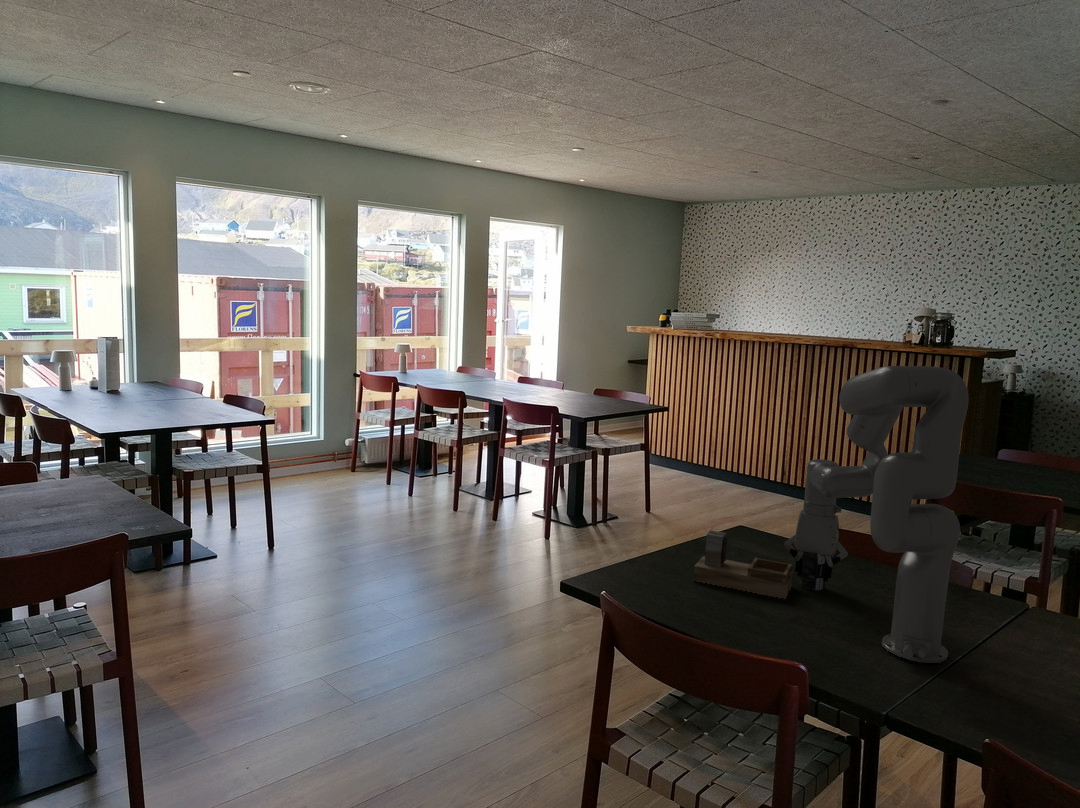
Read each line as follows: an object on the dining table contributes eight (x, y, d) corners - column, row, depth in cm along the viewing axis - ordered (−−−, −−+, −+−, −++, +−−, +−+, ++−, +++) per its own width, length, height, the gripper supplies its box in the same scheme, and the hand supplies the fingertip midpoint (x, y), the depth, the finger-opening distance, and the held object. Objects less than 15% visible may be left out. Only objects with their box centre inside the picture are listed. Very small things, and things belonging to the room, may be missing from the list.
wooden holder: (785, 599, 190) (789, 552, 189) (692, 581, 200) (696, 535, 199) (791, 587, 199) (795, 541, 197) (702, 569, 209) (705, 526, 207)
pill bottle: (827, 591, 197) (831, 548, 195) (804, 590, 197) (808, 547, 195) (819, 583, 203) (823, 540, 201) (796, 581, 203) (800, 539, 201)
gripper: (857, 510, 197) (850, 579, 199) (786, 500, 204) (780, 566, 206) (854, 517, 190) (847, 589, 192) (781, 507, 197) (775, 575, 200)
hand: (812, 576), depth 199 cm, fingers closed on pill bottle, 5 cm apart
